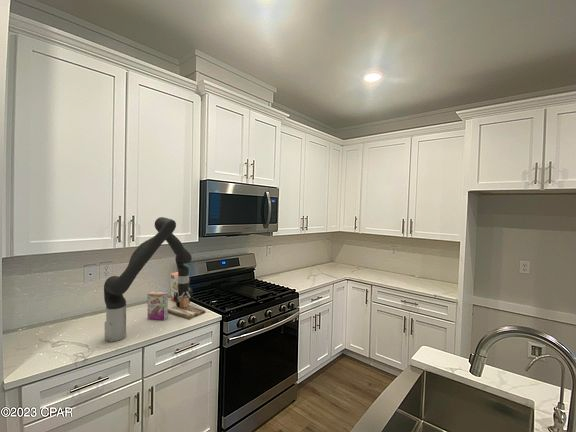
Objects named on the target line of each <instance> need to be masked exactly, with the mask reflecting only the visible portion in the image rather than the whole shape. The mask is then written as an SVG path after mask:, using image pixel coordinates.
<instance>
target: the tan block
mask: <svg viewBox="0 0 576 432" xmlns="http://www.w3.org/2000/svg"><path fill="white" fill-rule="evenodd" d="M188 306H190V303H189V298H188V297H182V298H181V299H180V307H182V308H186V307H188Z"/></svg>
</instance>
